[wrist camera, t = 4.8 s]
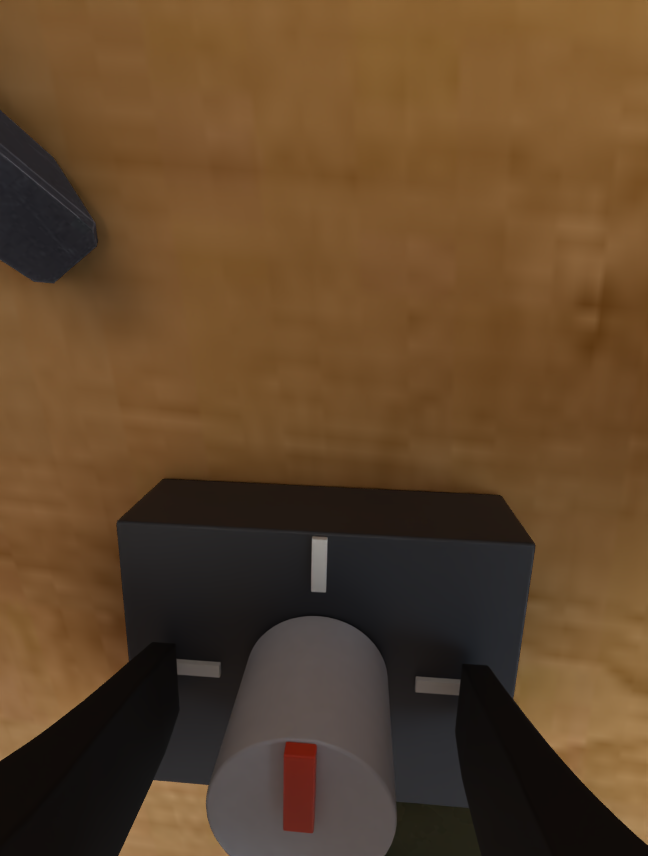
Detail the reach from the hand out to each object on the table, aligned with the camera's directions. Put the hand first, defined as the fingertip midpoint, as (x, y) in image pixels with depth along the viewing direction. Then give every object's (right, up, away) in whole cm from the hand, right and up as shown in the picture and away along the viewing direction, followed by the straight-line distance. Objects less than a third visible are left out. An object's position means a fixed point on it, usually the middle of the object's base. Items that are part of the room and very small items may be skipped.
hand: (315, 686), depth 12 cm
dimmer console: (0, +1, +3) cm, 3 cm away
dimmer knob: (0, 0, 0) cm, 0 cm away
